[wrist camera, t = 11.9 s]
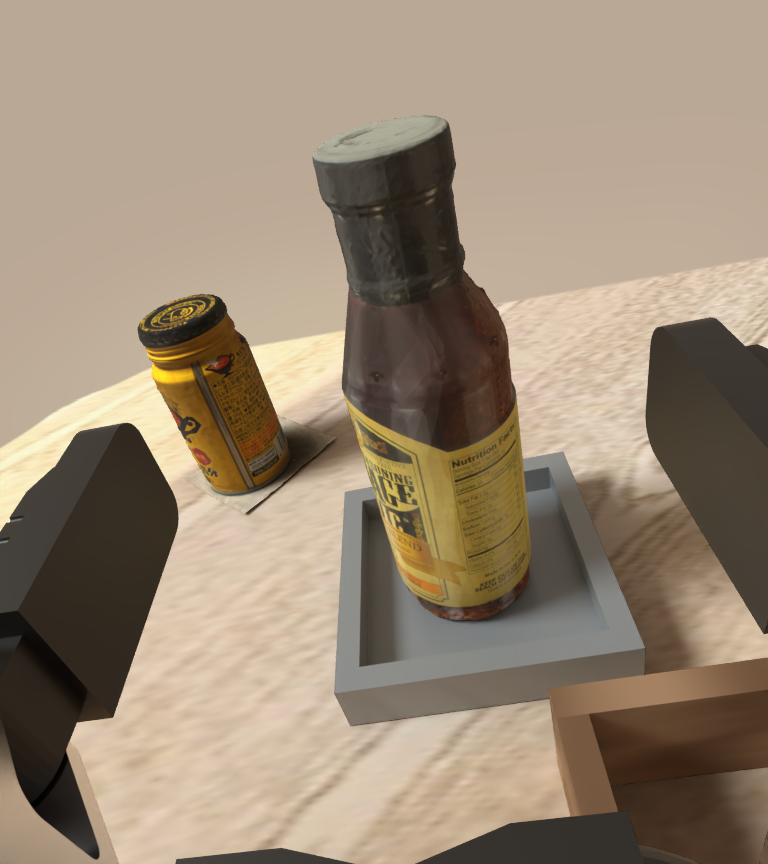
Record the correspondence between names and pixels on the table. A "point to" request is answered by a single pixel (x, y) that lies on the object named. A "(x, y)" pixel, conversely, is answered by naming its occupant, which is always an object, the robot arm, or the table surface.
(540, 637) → the tray
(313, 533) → the table surface
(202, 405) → the condiment
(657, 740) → the holder
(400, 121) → the sauce bottle
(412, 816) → the table surface
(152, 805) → the table surface
